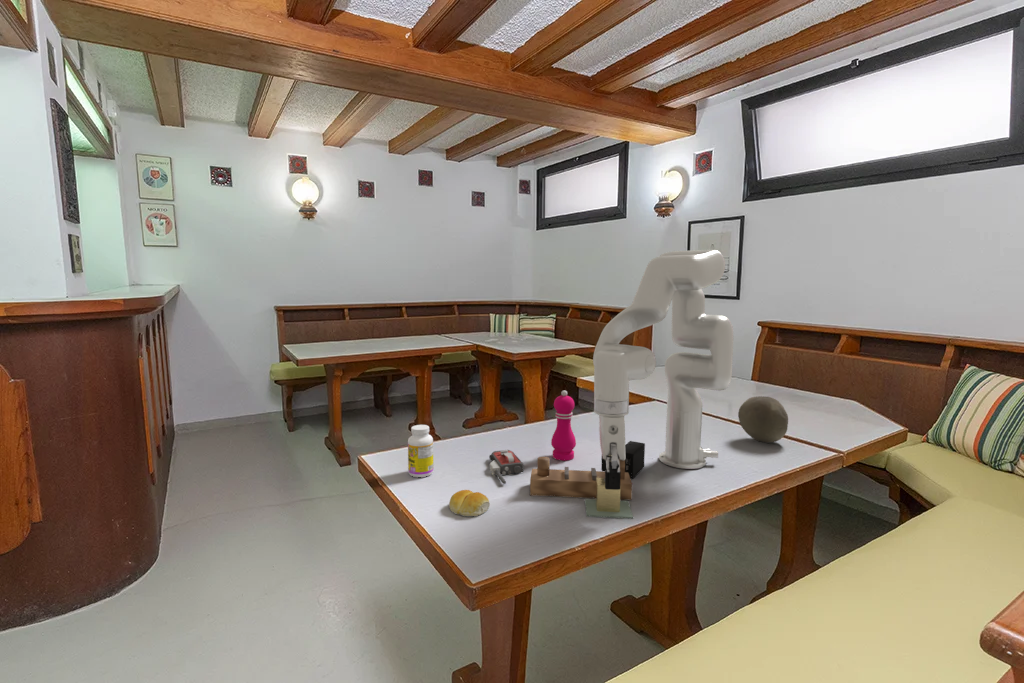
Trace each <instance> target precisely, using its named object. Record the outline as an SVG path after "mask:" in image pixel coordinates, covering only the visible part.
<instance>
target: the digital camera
mask: <svg viewBox="0 0 1024 683" xmlns="http://www.w3.org/2000/svg"><path fill="white" fill-rule="evenodd" d="M645 448H646V443H644V442H638V441H632V440H629V441H628V442H627V443H625V453H626V459H625V472H628V473H629V476H630V479H631V480H634V479H635V477H636V476H638V474H639V473H640V472H642V470H643V469H644V468H645V453H646V450H645ZM643 467H644V468H643Z"/></svg>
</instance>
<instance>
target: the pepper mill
mask: <svg viewBox="0 0 1024 683" xmlns="http://www.w3.org/2000/svg"><path fill="white" fill-rule="evenodd" d="M553 407H554V409H555V418H556V428H555V430H554V432H553V434H552V437H551V440H550V441H551V442H550V444H551V447H553V450H552V458H554V459H555V460H558V461H572V460H573V459H574V458H575V451H574V449H575V447H576V445H577V441H576V436H575V434H574V432H573V429H572V425H571V424H572V423H571V420H572V418H573V414H574V413H573V410H574V409H575V400H574V399H573V397H572V396H569V395H568V391H567V390H562V391H561V394H560V395H559V396H557V397H555V399H554V402H553Z"/></svg>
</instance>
